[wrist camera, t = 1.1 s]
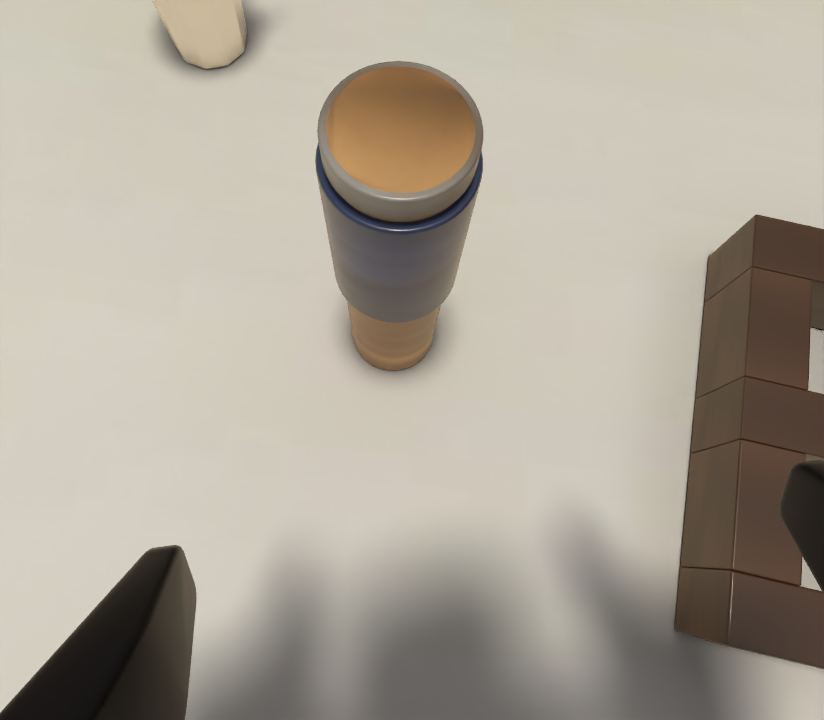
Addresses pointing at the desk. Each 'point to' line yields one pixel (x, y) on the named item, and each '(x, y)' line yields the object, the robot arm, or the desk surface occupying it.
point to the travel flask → (397, 200)
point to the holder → (754, 445)
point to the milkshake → (205, 29)
